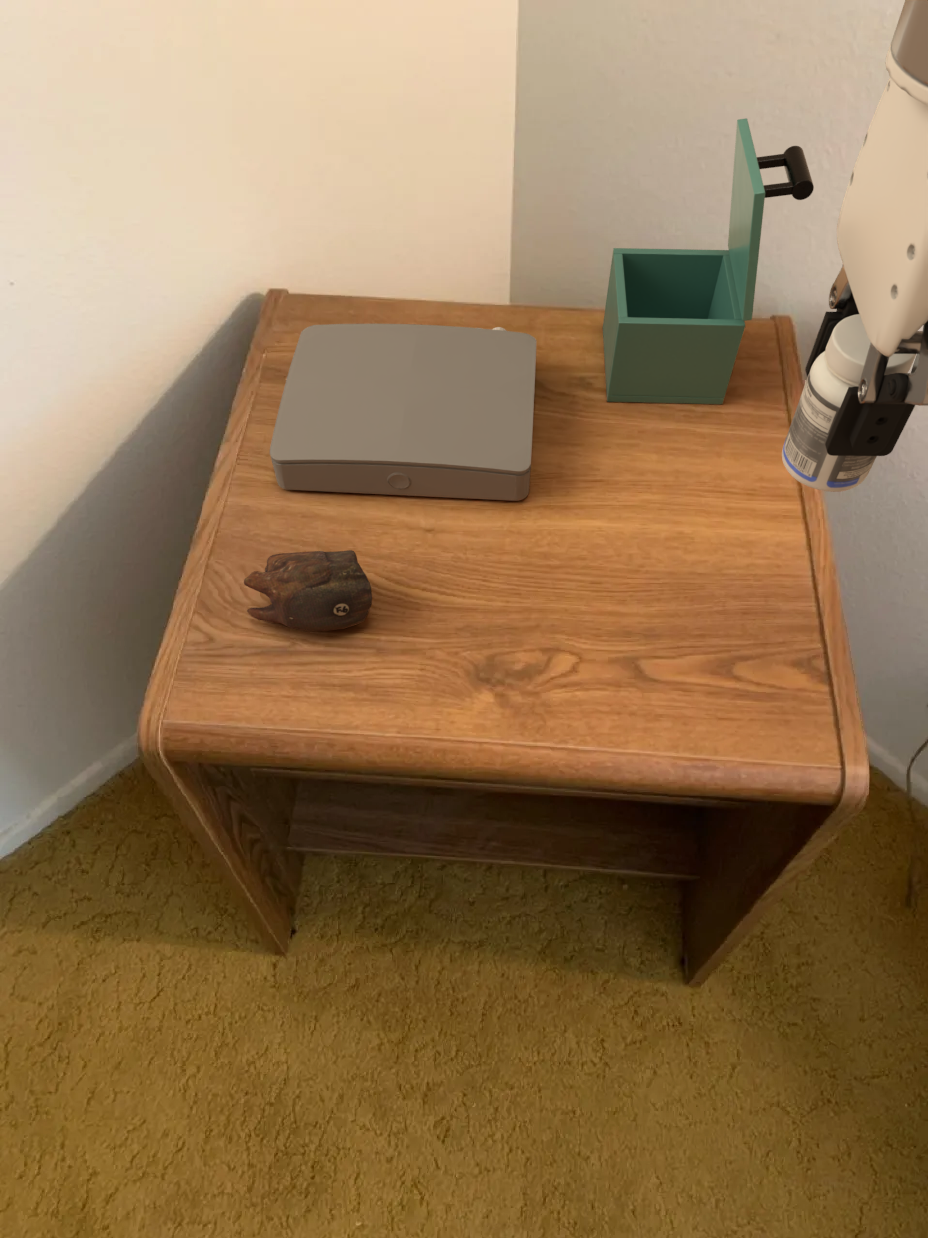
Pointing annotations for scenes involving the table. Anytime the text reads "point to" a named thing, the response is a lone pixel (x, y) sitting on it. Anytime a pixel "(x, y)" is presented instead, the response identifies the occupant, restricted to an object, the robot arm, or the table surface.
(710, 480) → the table surface
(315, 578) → the dark brown rock
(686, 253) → the green box
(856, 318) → the pill bottle
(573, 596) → the table surface
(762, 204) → the lid
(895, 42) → the robot arm
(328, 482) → the electronic device
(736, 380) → the table surface
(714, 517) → the table surface
